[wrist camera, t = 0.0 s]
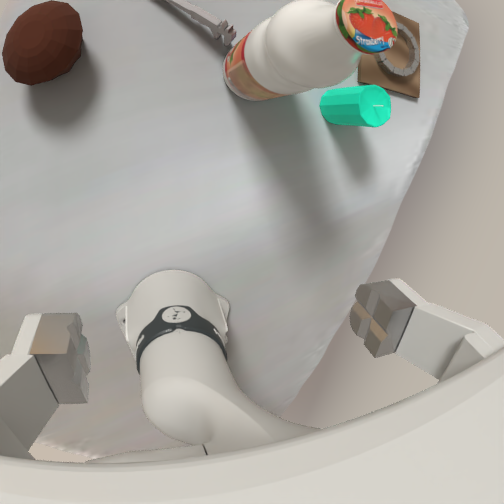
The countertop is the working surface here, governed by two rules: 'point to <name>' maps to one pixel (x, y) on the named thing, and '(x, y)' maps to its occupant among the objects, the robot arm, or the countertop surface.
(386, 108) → the candle
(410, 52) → the ring collar
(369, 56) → the ring board
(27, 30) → the muffin
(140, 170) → the countertop surface
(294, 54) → the fruit juice
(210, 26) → the caliper
